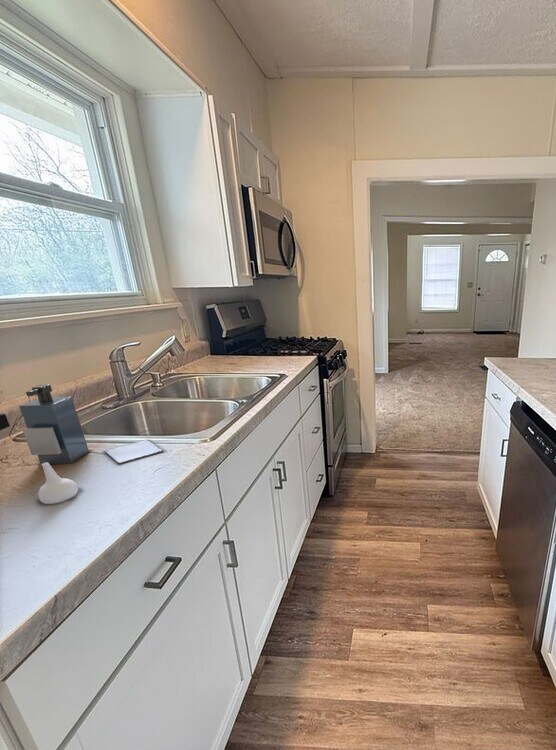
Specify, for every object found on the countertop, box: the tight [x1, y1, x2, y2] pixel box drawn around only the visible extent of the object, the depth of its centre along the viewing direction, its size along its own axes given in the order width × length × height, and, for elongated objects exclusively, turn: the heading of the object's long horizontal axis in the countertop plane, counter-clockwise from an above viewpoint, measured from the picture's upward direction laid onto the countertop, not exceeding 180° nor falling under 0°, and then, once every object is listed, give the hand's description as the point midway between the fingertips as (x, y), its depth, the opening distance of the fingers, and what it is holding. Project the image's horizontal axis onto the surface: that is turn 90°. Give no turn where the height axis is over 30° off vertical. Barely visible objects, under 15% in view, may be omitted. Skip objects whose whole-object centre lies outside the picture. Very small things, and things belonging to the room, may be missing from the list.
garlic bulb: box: [37, 462, 79, 505], centre depth 80 cm, size 6×6×8 cm
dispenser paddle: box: [21, 427, 61, 456], centre depth 92 cm, size 1×6×6 cm, turn 93°
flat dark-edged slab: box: [104, 439, 164, 465], centre depth 102 cm, size 11×10×1 cm
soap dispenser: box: [18, 384, 90, 464], centre depth 95 cm, size 8×7×19 cm
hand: (3, 420), depth 82 cm, fingers closed
